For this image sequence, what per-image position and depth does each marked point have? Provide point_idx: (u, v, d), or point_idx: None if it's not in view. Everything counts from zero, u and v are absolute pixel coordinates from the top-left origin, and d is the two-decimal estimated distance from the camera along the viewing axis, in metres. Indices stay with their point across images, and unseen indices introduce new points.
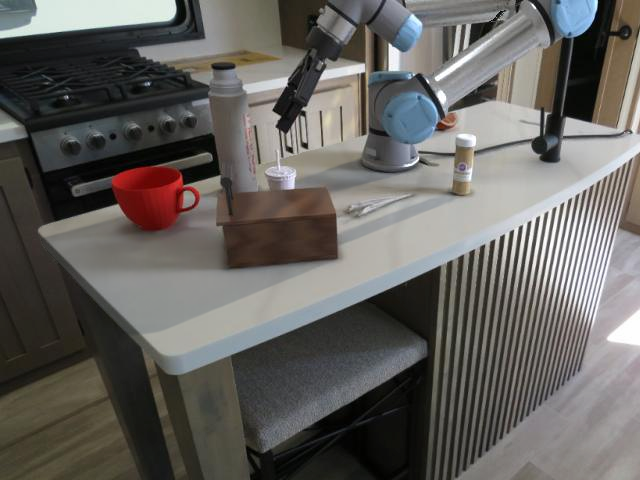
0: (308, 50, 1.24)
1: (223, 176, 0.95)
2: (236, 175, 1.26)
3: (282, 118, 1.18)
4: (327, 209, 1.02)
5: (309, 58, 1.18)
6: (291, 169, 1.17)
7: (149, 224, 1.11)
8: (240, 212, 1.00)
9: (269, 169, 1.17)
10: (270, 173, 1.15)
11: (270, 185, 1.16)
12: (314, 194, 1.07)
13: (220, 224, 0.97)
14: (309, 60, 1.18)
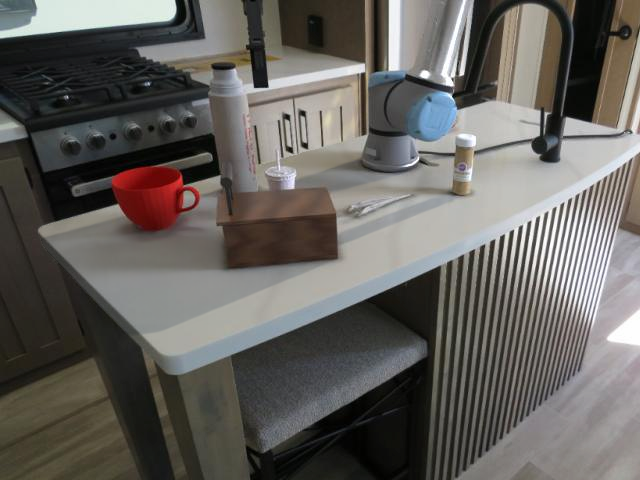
0: None
1: (223, 176, 0.95)
2: (236, 175, 1.26)
3: (254, 74, 1.02)
4: (327, 209, 1.02)
5: None
6: (291, 169, 1.17)
7: (149, 224, 1.11)
8: (240, 212, 1.00)
9: (269, 169, 1.17)
10: (270, 173, 1.15)
11: (270, 185, 1.16)
12: (314, 194, 1.07)
13: (220, 224, 0.97)
14: None
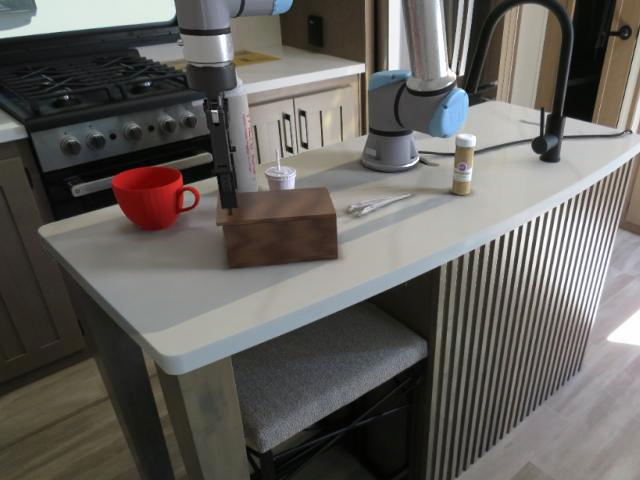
0: None
1: None
2: (236, 175, 1.26)
3: (221, 195, 0.96)
4: (327, 209, 1.02)
5: (205, 105, 0.90)
6: (291, 169, 1.17)
7: (149, 224, 1.11)
8: (240, 212, 1.00)
9: (269, 169, 1.17)
10: (270, 173, 1.15)
11: (270, 185, 1.16)
12: (314, 194, 1.07)
13: (220, 224, 0.97)
14: (206, 107, 0.90)
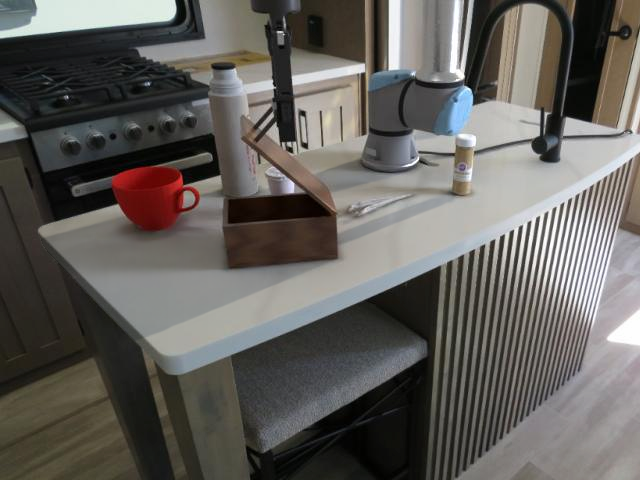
0: (267, 24, 0.93)
1: None
2: (236, 175, 1.26)
3: (280, 127, 0.92)
4: (331, 204, 1.01)
5: (268, 29, 0.86)
6: None
7: (149, 224, 1.11)
8: (263, 146, 0.94)
9: (269, 169, 1.17)
10: (270, 173, 1.15)
11: (270, 185, 1.16)
12: (319, 184, 1.07)
13: (245, 140, 0.90)
14: (269, 32, 0.86)
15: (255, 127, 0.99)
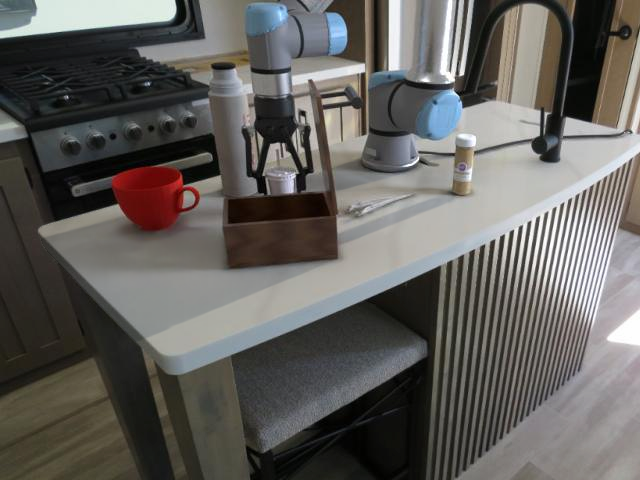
0: None
1: None
2: (236, 175, 1.26)
3: None
4: None
5: None
6: (291, 169, 1.17)
7: (149, 224, 1.11)
8: None
9: (269, 169, 1.17)
10: (270, 173, 1.15)
11: (270, 185, 1.16)
12: None
13: (319, 100, 0.89)
14: None
15: None
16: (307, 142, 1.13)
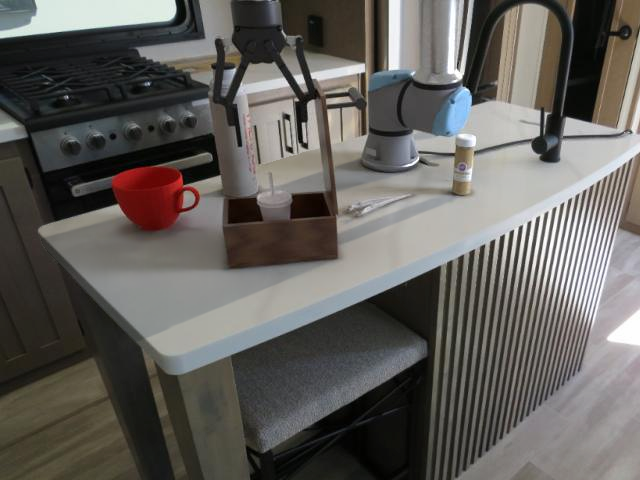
0: None
1: (365, 100, 0.94)
2: (236, 175, 1.26)
3: None
4: None
5: None
6: (287, 194, 1.04)
7: (149, 224, 1.11)
8: None
9: (262, 194, 1.04)
10: (263, 199, 1.02)
11: (263, 212, 1.02)
12: None
13: (323, 100, 0.90)
14: None
15: None
16: (302, 59, 0.91)
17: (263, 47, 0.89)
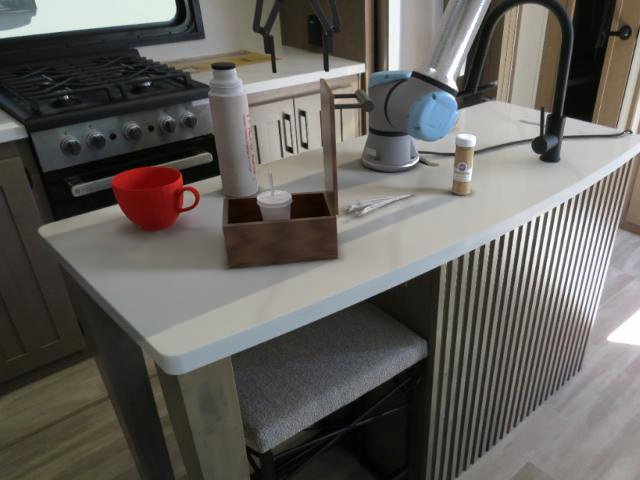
0: None
1: (373, 103, 0.95)
2: (236, 175, 1.26)
3: None
4: None
5: None
6: (287, 194, 1.04)
7: (149, 224, 1.11)
8: None
9: (262, 194, 1.04)
10: (263, 199, 1.02)
11: (263, 212, 1.02)
12: None
13: (331, 99, 0.90)
14: None
15: None
16: None
17: None
